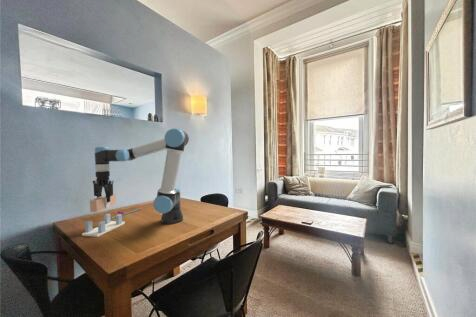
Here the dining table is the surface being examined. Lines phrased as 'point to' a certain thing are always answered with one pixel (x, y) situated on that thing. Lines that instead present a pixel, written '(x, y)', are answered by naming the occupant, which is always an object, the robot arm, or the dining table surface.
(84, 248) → the dining table surface
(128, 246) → the dining table surface
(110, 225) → the rack
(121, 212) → the squeegee
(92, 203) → the pink rectangular block
